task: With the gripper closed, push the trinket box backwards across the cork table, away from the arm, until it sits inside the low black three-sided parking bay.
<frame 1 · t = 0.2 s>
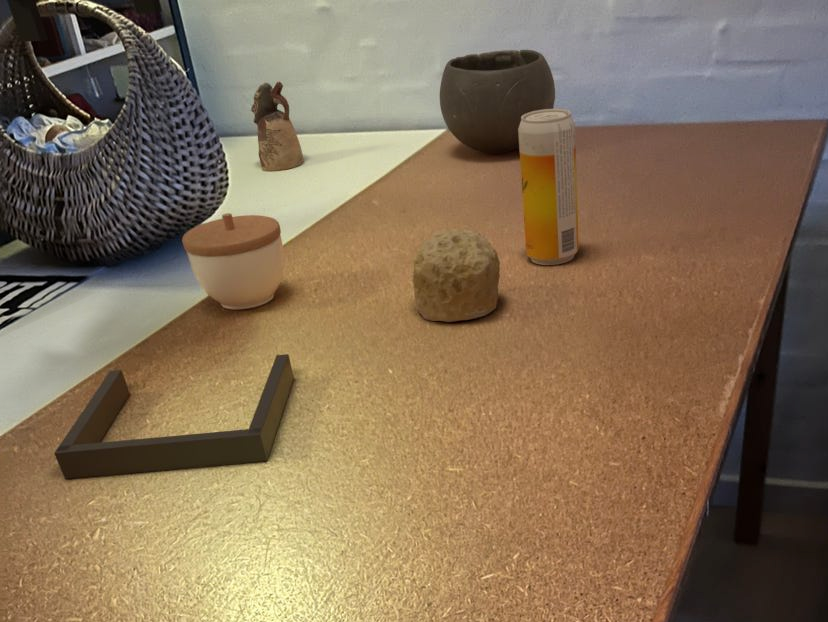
hand: (94, 26, 89), 28 cm above the table, tool pointing down, fingers open, 13 cm apart
bowl: (501, 150, 155), on the table
figurine: (282, 166, 161), on the table
bay: (188, 422, 89), on the table
beer can: (552, 259, 114), on the table
coral: (461, 311, 104), on the table
trinket box: (248, 301, 113), on the table
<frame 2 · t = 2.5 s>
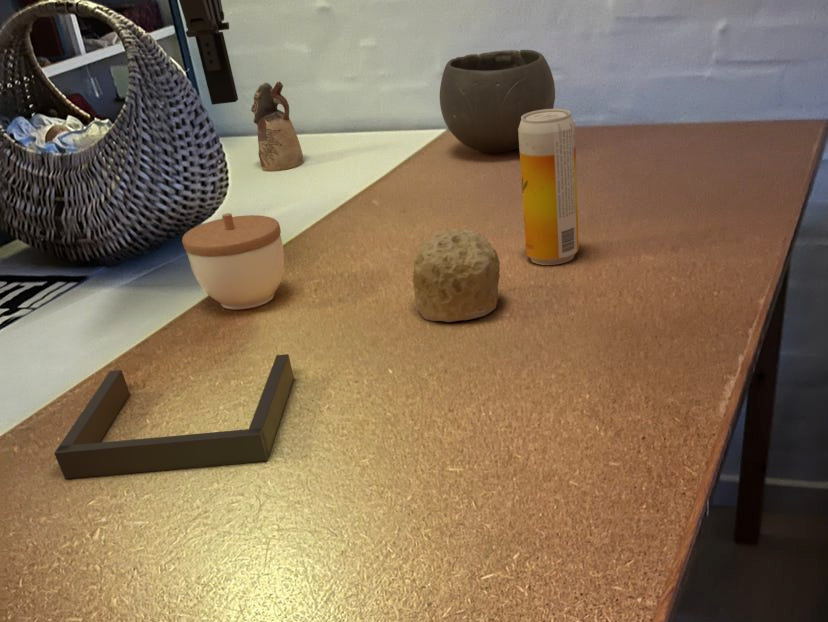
hand: (225, 101, 109), 18 cm above the table, tool pointing down, fingers closed
nothing on the table moved.
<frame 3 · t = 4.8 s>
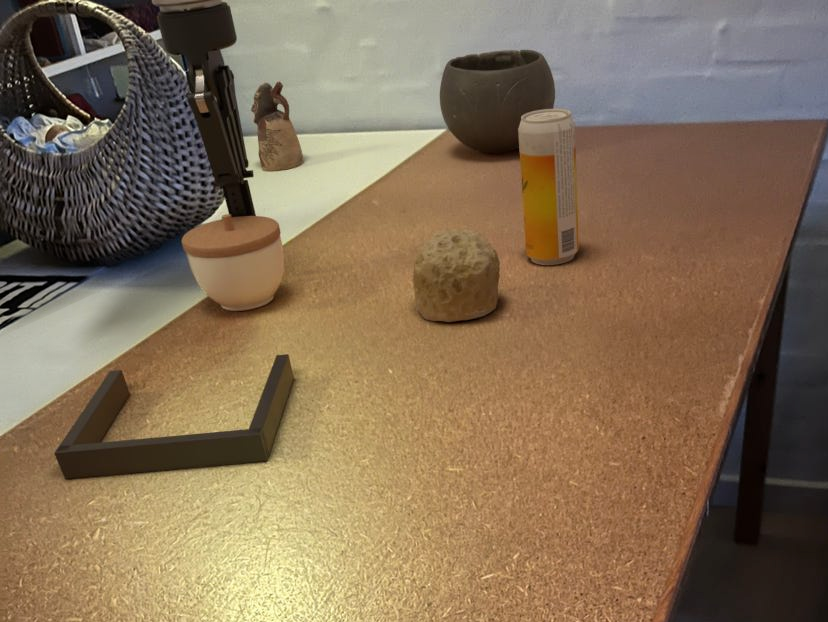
hand: (248, 241, 115), 4 cm above the table, tool pointing down, fingers closed
trinket box: (247, 302, 112), on the table, touching gripper
everything else where it was.
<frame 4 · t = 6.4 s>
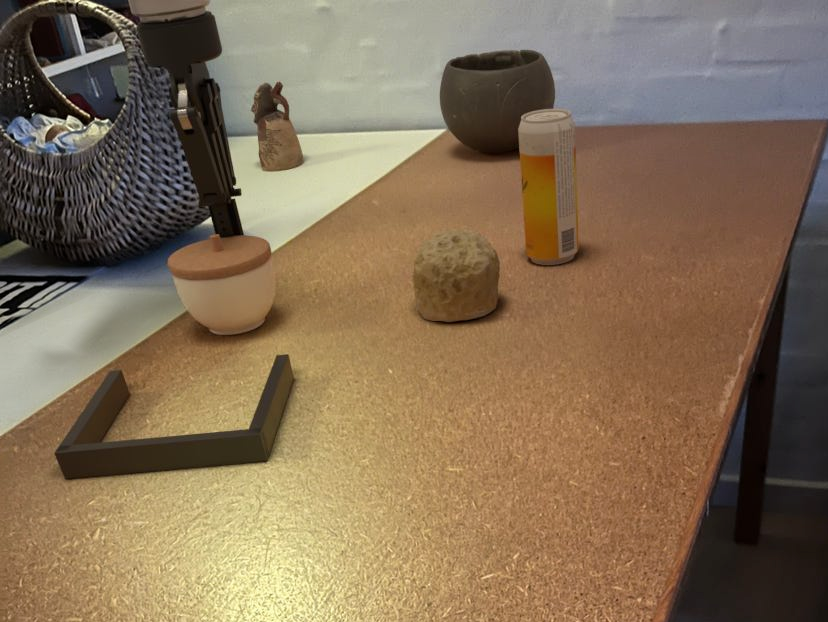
hand: (237, 263, 108), 5 cm above the table, tool pointing down, fingers closed
trinket box: (237, 325, 107), on the table, touching gripper
everything else where it was.
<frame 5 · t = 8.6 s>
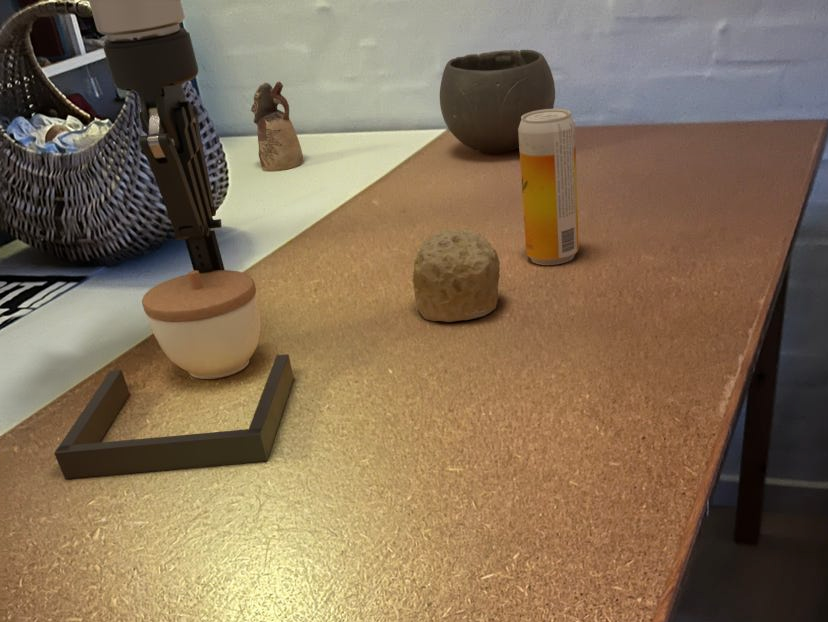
hand: (217, 299, 100), 5 cm above the table, tool pointing down, fingers closed
trinket box: (219, 367, 98), on the table, touching gripper
everything else where it was.
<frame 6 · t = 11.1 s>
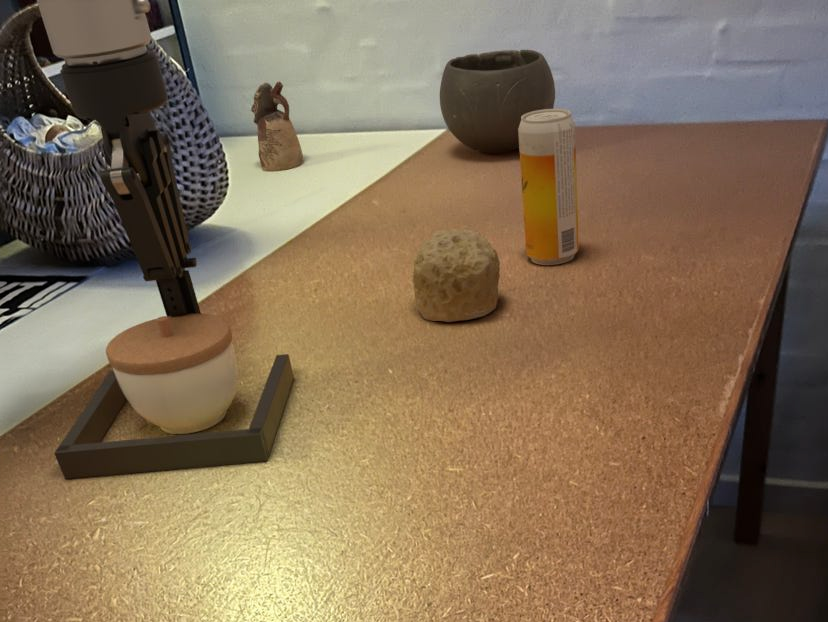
hand: (192, 344, 91), 5 cm above the table, tool pointing down, fingers closed
trinket box: (193, 420, 89), on the table, touching gripper
everything else where it was.
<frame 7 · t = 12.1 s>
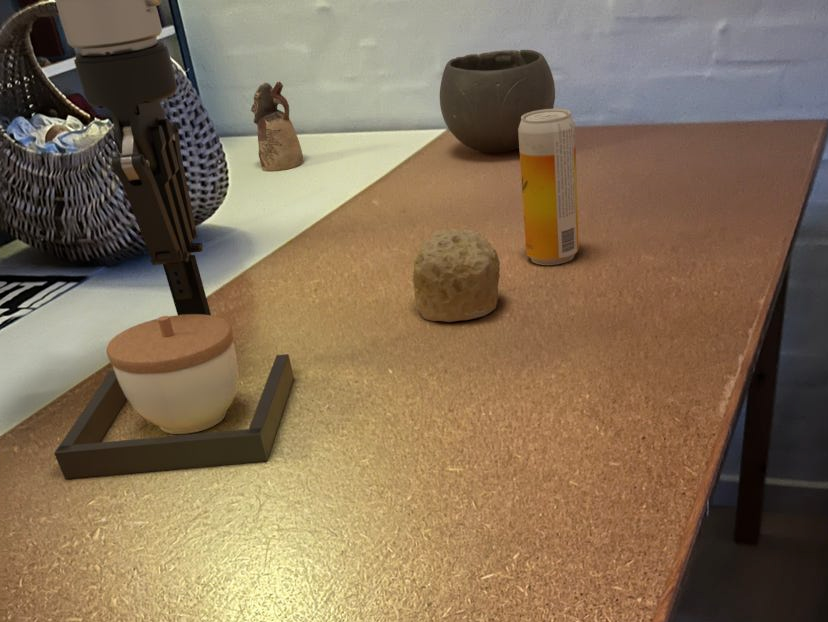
hand: (197, 326, 94), 5 cm above the table, tool pointing down, fingers closed
trinket box: (193, 420, 89), on the table
everything else where it was.
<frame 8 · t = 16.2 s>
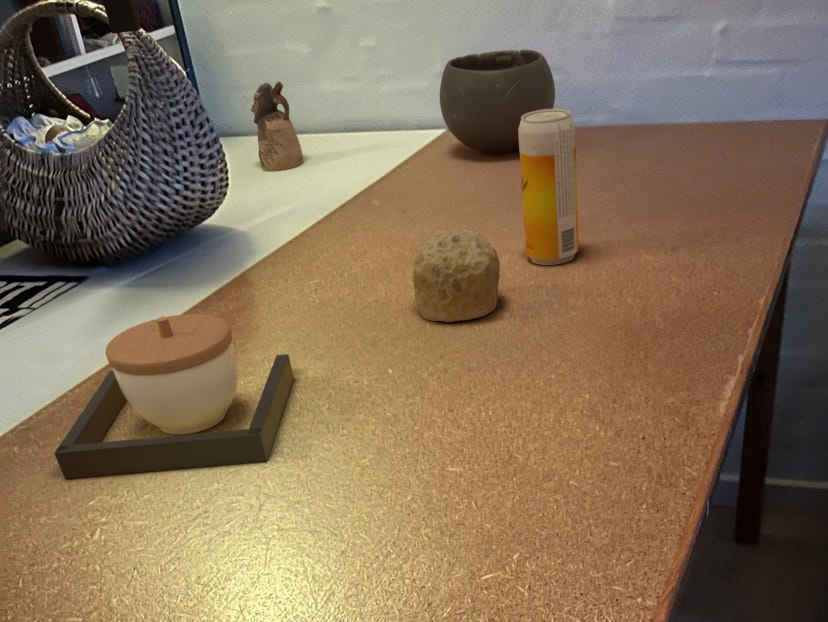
hand: (126, 30, 101), 26 cm above the table, tool pointing down, fingers closed
nothing on the table moved.
at the end: trinket box inside the target area on the bay (0.7 cm from its centre), point 0.0 cm above the bay's base; trinket box moved 29.9 cm from its start; trinket box tilted 0° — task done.
